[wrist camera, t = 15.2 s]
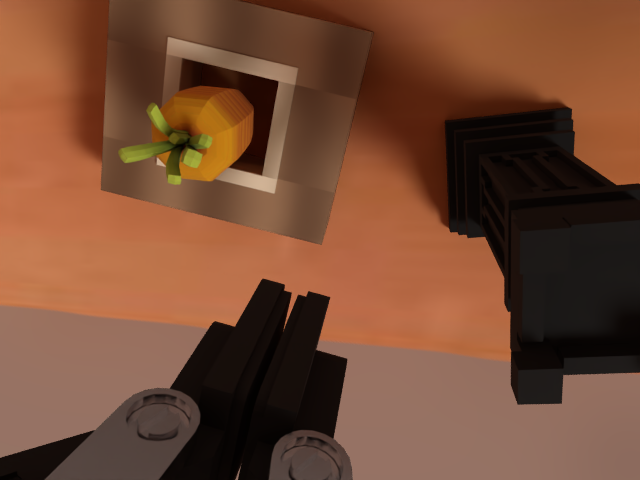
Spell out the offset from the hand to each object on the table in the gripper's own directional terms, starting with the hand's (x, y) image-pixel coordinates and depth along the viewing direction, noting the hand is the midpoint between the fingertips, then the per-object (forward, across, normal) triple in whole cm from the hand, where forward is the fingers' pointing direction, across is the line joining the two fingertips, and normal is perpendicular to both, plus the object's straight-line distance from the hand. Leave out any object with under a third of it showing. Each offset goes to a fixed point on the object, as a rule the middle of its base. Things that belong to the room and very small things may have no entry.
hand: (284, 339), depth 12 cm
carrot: (+26, +9, +1) cm, 28 cm away
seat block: (+26, +9, +1) cm, 28 cm away
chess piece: (+27, -10, 0) cm, 29 cm away
